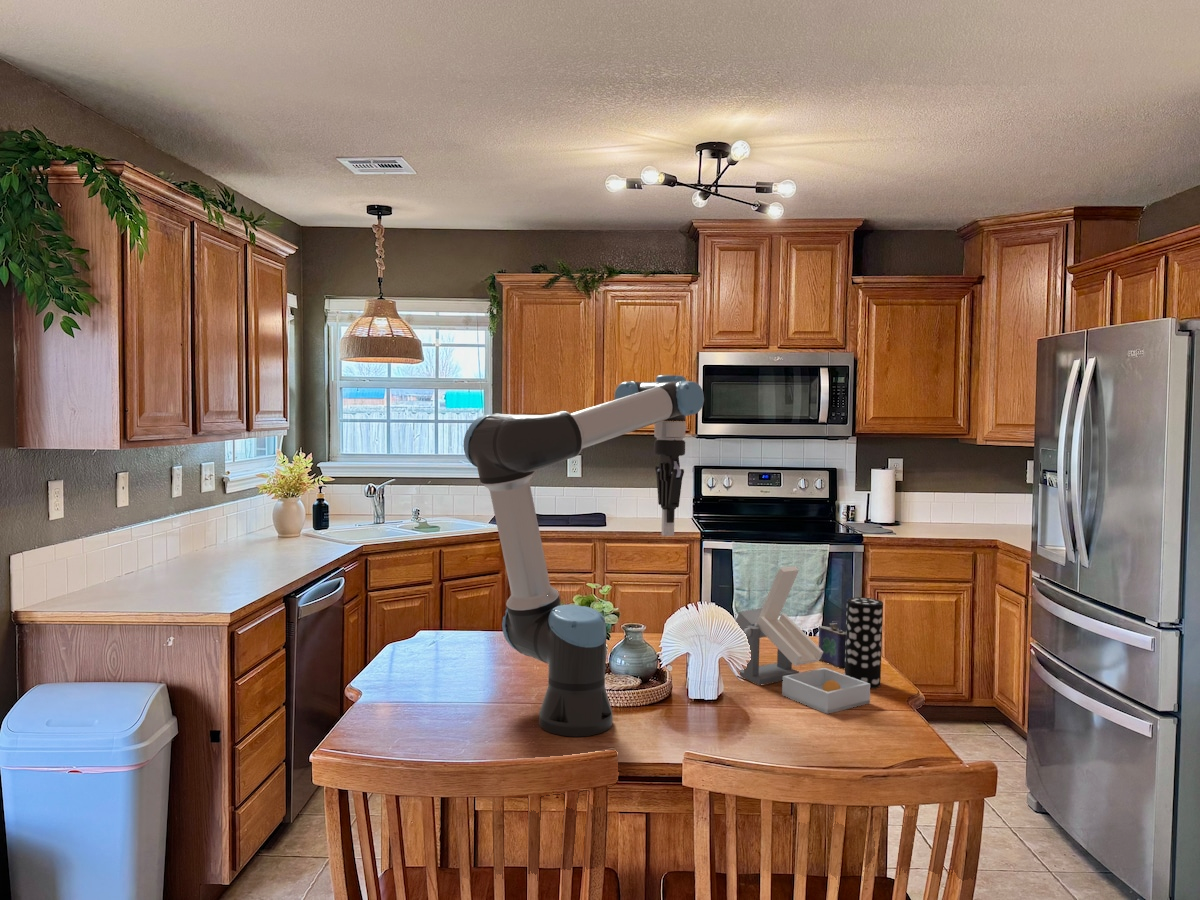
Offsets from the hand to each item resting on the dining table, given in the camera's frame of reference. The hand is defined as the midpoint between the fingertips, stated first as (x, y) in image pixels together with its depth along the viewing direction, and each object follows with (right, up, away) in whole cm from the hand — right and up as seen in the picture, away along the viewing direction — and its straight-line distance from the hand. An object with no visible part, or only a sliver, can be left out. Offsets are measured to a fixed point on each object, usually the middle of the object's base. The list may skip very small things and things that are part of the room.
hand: (667, 535), depth 206 cm
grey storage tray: (+35, -36, -15) cm, 52 cm away
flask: (+44, -35, +13) cm, 58 cm away
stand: (+25, -35, +1) cm, 43 cm away
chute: (+25, -29, 0) cm, 38 cm away
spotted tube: (+47, -36, -3) cm, 59 cm away
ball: (+36, -33, -16) cm, 51 cm away
